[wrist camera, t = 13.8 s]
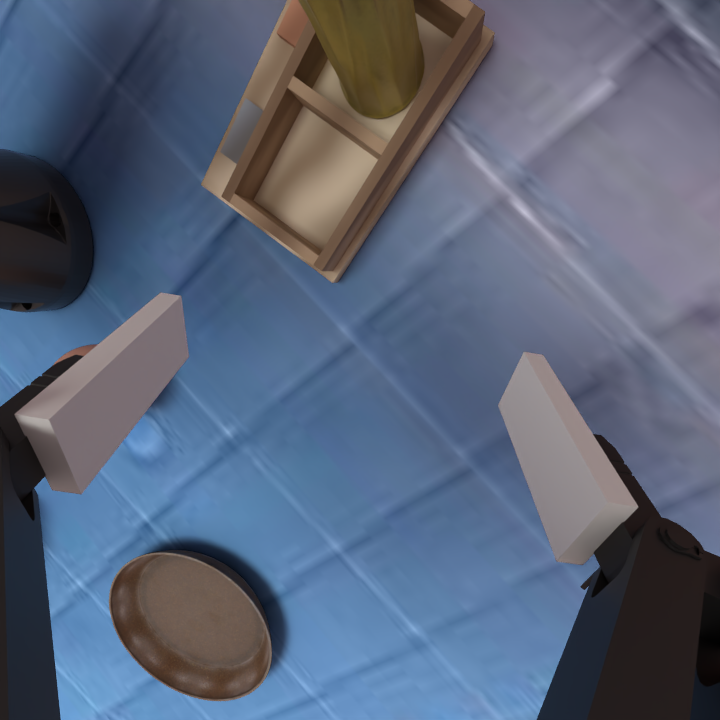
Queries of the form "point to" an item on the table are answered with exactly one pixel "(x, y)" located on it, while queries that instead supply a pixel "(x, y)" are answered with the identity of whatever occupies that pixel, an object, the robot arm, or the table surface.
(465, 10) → the tray
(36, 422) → the robot arm
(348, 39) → the vase
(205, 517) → the table surface
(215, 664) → the plant saucer
